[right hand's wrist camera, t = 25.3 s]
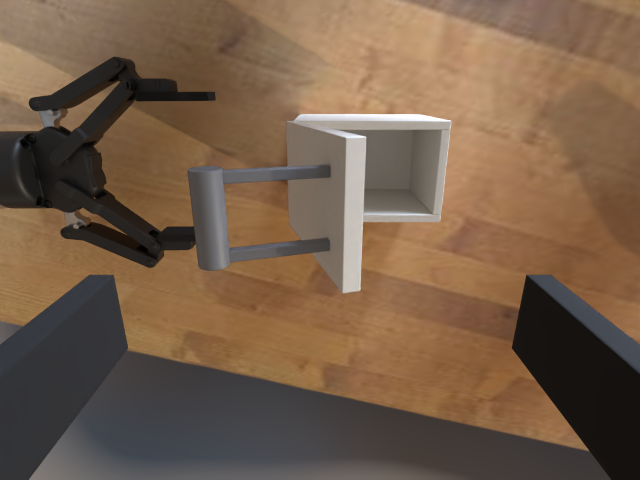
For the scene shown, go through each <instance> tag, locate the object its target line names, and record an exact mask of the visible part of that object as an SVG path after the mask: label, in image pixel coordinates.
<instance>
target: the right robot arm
mask: <svg viewBox="0 0 640 480" xmlns="http://www.w3.org/2000/svg"><path fill="white" fill-rule="evenodd" d="M127 349H128V345H127V340H126V335H125V330H124V325H123V320H122V315H121V310H120V305H119V300H118V295H117V290H116V285H115V280H114V275H89V276H87V277H86V278H85V279H84V280H82V281H81V282H80V283H79V284H77V285H76V286H75V287H73V288H72V289H71V290H70V291H68V292H67V293H66V294H64V295H63V296H62V297H61V298H59V299H58V300H57V301H56V302H54V303H53V304H52V305H50V306H49V307H48V308H47V309H45V310H44V311H43V312H41V313H40V314H39V315H38V316H36V317H35V318H34V319H33V320H31V321H30V322H29V323H27V324H26V325H25V326H24V327H22V328H21V329H20V330H18V331H17V332H16V333H15V334H13V335H12V336H11V337H9V338H8V339H7V340H6V341H4V342H3V343H2V344H1V345H0V480H29V478H30V477H31V476H32V474H33V473H34V472H35V470H36V469H37V468H38V467H39V465H40V464H41V463H42V461H43V460H44V459H45V457H46V456H47V455H48V453H49V452H50V451H51V449H52V448H53V447H54V445H55V444H56V443H57V441H58V440H59V439H60V437H61V436H62V435H63V434H64V432H65V431H66V430H67V428H68V427H69V426H70V424H71V423H72V422H73V420H74V419H75V418H76V416H77V415H78V414H79V412H80V411H81V410H82V408H83V407H84V406H85V404H86V403H87V402H88V400H89V399H90V398H91V396H92V395H93V394H94V393H95V391H96V390H97V389H98V387H99V386H100V385H101V383H102V382H103V381H104V379H105V378H106V377H107V375H108V374H109V373H110V371H111V370H112V369H113V367H114V366H115V365H116V363H117V362H118V361H119V359H120V358H121V357H122V355H123V354H124V353H125V352H126V350H127ZM512 349H513V350H514V352H515V353H516V354H517V356H518V357H519V358H520V359H521V361H522V362H523V363H524V365H525V366H526V367H527V369H528V370H529V371H530V373H531V374H532V375H533V377H534V378H535V379H536V381H537V382H538V383H539V385H540V386H541V387H542V389H543V390H544V391H545V393H546V394H547V395H548V396H549V398H550V399H551V400H552V402H553V403H554V404H555V406H556V407H557V408H558V410H559V411H560V412H561V414H562V415H563V416H564V418H565V419H566V420H567V422H568V423H569V424H570V426H571V427H572V428H573V430H574V431H575V432H576V434H577V435H578V436H579V437H580V439H581V440H582V441H583V443H584V444H585V445H586V447H587V448H588V449H589V451H590V452H591V453H592V455H593V456H594V457H595V459H596V460H597V461H598V463H599V464H600V465H601V466H602V468H603V469H604V470H605V472H606V473H607V474H608V476H609V477H610V478H611V480H640V345H639V344H638V343H637V342H636V341H634V340H633V339H632V338H630V337H629V336H628V335H627V334H625V333H624V332H623V331H622V330H620V329H619V328H618V327H616V326H615V325H614V324H613V323H611V322H610V321H609V320H607V319H606V318H605V317H604V316H602V315H601V314H600V313H599V312H597V311H596V310H595V309H593V308H592V307H591V306H590V305H588V304H587V303H586V302H584V301H583V300H582V299H581V298H579V297H578V296H577V295H576V294H574V293H573V292H572V291H570V290H569V289H568V288H567V287H565V286H564V285H563V284H561V283H560V282H559V281H558V280H556V279H555V278H554V277H553V276H551V275H526V280H525V285H524V290H523V295H522V300H521V305H520V310H519V315H518V320H517V325H516V330H515V335H514V340H513V345H512Z"/></svg>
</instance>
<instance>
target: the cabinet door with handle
mask: <svg viewBox="0 0 640 480" xmlns="http://www.w3.org/2000/svg"><path fill="white" fill-rule="evenodd" d="M286 133H287V166H286V167H266V168H247V169H227V170H223V169H222V168H221V167H217V166H200V167H193V168H190V169H188V178H189V187H190V196H191V205H192V213H193V222H194V231H195V239H196V248H197V257H198V265H199V268H200V269H202V270H207V271H215V270H221V269H224V268H226V267H228V266H229V265H230V262H238V261H246V260H255V259H264V258H272V257H281V256H289V255H298V254H306V253H311V254H312V255H313V256H314V258H315V259H316V260H317V261H318V263H319V264H320V265H321V267H322V268H323V269H324V270H325V272H326V273H327V274H328V276H329V277H330V278H331V279H332V281H333V282H334V283H335V285H336V286H337V287H338V289H339V290H340V291H341V292H342V293H349V292H356V291H360V280H361V255H362V231H363V206H364V181H365V156H366V137H365V136H360V135H356V134H352V133H348V132H344V131H339V130H335V129H331V128H327V127H323V126H318V125H314V124H310V123H306V122H302V121H286ZM282 180H288V206H289V225H290V227H291V228H292V229H293V231H294V232H295V233H296V234H297V236H298V237H299V238H300V241H290V242H281V243H272V244H262V245H253V246H243V247H234V248H229V239H228V227H227V216H226V204H225V192H224V184H233V183H249V182H266V181H282Z"/></svg>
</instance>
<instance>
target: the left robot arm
mask: <svg viewBox="0 0 640 480" xmlns="http://www.w3.org/2000/svg"><path fill="white" fill-rule="evenodd" d="M117 81H121V82H120V83H119V84H118V85H117V86H116V88H115V89H114V90H113V91H112V92H111V93H110V94H109V95H108V96H107V97H106V98H105V100H104V101H103V102H102V103H101V104H100V105H99V106H98V107H97V108H96V109H95V110H94V111H93V113H92V114H91V115H90V116H89V117H88V118H87V119H86V120H85V121H84V122H83V123H82V125H81V126H80V127H78V128H76V129H75V130H73V131H72V132H71V131H69V130H67V129H66V128H64V127H62V126H60V120H61V119H62V118H64V117H65V116H66V115H67V113H68V110H67V109H68V108H72V107H75V106H77V105H79V104H81V103H82V102H84V101H86V100H87V99H89V98H91V97H92V96H94V95H96V94H97V93H99V92H101V91H102V90H104V89H106V88H107V87H109V86H110V85H112V84H114V83H115V82H117ZM135 100H136V101H213V100H215V92H178V91H177V83H176V81H174V80H171V79H142V78H141V77H139V76H138V74H137V72H136V70H135V64H134V62H133V61H132V60H130V59H125V58H120V57H112V58H111V59H109V60H107V61H106V62H104V63H103V64H101V65H99V66H98V67H96V68H94V69H93V70H91V71H90V72H88V73H86V74H85V75H83V76H81V77H80V78H78V79H76V80H75V81H73V82H72V83H70V84H68V85H67V86H65V87H63V88H62V89H60V90H59V91H57V92H55V93H54V94H52V95H48V96H41V97H33V98H31V99H30V100H29V106H30V107H31V109H32V110H34V111H39V114H40V117H41V119H42V122H43V125H44V128H43V129H42V130H40V131H6V132H0V209H4V208H55V209H59V210H61V211H63V212H64V215H65V223H66V227H64V228H63V229H61V232H60V233H61V235H62V237H64V238H66V239H74V240H84V241H86V242H89V243H91V244H93V245H96V246H98V247H101V248H103V249H105V250H108V251H110V252H113V253H115V254H117V255H120V256H122V257H125V258H127V259H129V260H132V261H134V262H137V263H139V264H141V265H144V266H146V267H149V268H152V267H154V266H155V265H156V264H157V263H158V262H159V261H160V260H161V259H162V258H163V257H164V250H189V249H191V248H193V247H194V245H195V244H196V239H195V231H194V227H166V228H165V229H164V230H163V231H162V232H161V231H159V230H158V229H156V228H155V227H154V226H152V225H151V224H149V223H148V222H147V221H145V220H144V219H142V218H141V217H139V216H138V215H137V214H135V213H134V212H132V211H131V210H130V209H128V208H127V207H125V206H124V205H123V204H121V203H120V202H118V201H117V200H116V199H115V197H114V195H112V194H111V193H110V192H108V191H107V190H105V189H104V184H106V178H105V175H104V172H103V170H102V157H101V153H98V152H97V150H96V149H95V147H94V146H95V145H96V144H97V142H98V141H99V140H100V139H101V138H102V137H103V134H104V133H105V132H106V131H107V130H108V129H109V128H110V127H111V125H112V124H113V123H114V122H115V121H116V120H117V119H118V118H119V117H120V116H121V115H122V114H123V113H124V112H125V111H126V110H127V109H128V107H129V106H130V105H131V104H132V103H133V102H134V101H135ZM94 197H95V198H96V199H94ZM82 207H83V208H85V209H86V210H87V211H89V212H91V213H93V214H98V215H99V216H101V217H102V218H104V219H105V220H107V221H108V222H110V223H111V224H112V225H114V226H115V227H117V228H118V229H120V230H121V231H123V232H124V233H126V234H127V235H125V234H123V233H121V232H118V231H116V230H114V229H111V228H109V227H107V226H104V225H102V224H99V223H95V222H91V219H90V218H89V217H84V216H82V215H81V214H80V212H79V209H81V208H82Z"/></svg>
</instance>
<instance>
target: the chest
mask: <svg viewBox="0 0 640 480" xmlns="http://www.w3.org/2000/svg"><path fill="white" fill-rule="evenodd" d="M294 121H302V122H306V123H310V124H314V125H318V126H323V127H327V128H331V129H335V130H339V131H344V132H348V133H352V134H356V135H360V136H365V137H366V156H365V181H364V206H363V222H440V217H441V215H440V214H441V209H442V200H443V191H444V182H445V173H446V164H447V155H448V146H449V137H450V127H451V121H450V120H445V119H440V118H435V117H430V116H425V115H420V114H300V115H299V116H298V117H297V118H296V119H295V120H294Z"/></svg>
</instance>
